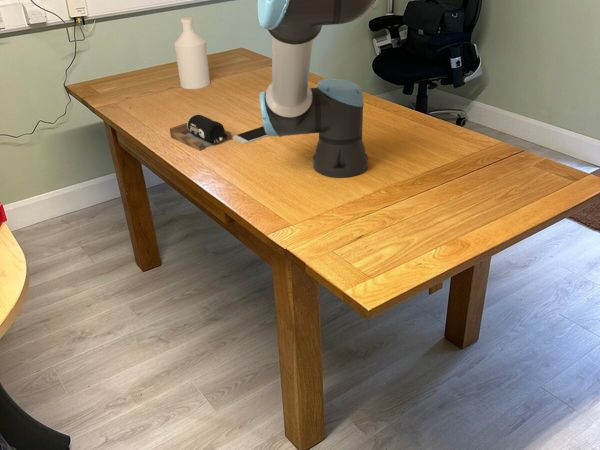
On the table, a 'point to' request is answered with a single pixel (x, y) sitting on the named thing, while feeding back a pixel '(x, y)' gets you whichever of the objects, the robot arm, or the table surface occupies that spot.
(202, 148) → the walnut U-rest
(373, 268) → the table surface
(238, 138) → the smartphone
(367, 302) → the table surface
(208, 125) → the beverage can
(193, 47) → the bottle
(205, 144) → the grey rubber pad
